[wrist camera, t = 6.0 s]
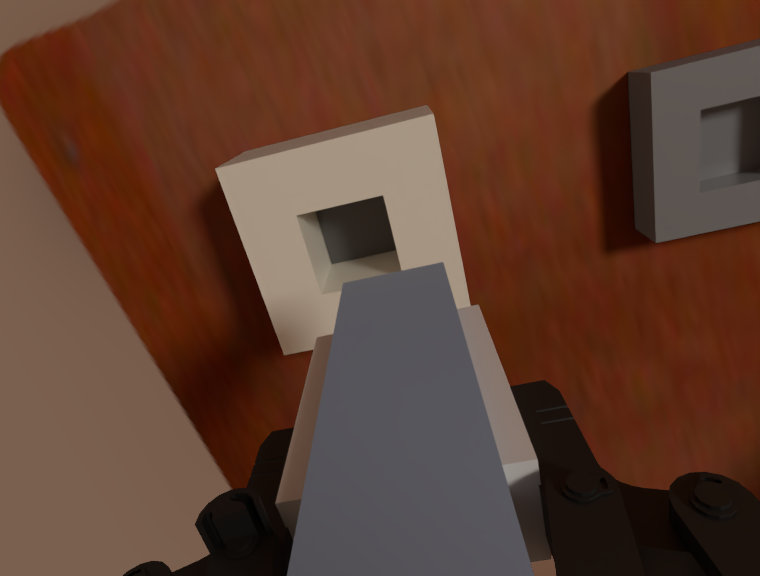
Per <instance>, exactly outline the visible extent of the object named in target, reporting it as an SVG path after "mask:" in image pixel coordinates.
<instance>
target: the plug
mask: <svg viewBox="0 0 760 576" xmlns="http://www.w3.org/2000/svg"><path fill="white" fill-rule="evenodd" d="M287 576H534V573H533V570H532V566H531V563H530V559H529V556H528V552H527V549H526V546H525V542H524V539H523V535H522V532H521V528H520V525H519V521H518V518H517V515H516V511H515V508H514V504H513V501H512V497H511V494H510V490H509V487H508V484H507V480H506V477H505V473H504V470H503V466H502V463H501V459H500V456H499V452H498V449H497V446H496V442H495V439H494V435H493V432H492V428H491V425H490V421H489V418H488V415H487V411H486V408H485V404H484V401H483V397H482V394H481V390H480V387H479V384H478V380H477V377H476V373H475V370H474V366H473V363H472V359H471V356H470V352H469V349H468V346H467V342H466V339H465V335H464V332H463V328H462V325H461V321H460V318H459V315H458V311H457V308H456V304H455V301H454V297H453V294H452V290H451V287H450V284H449V280H448V277H447V273H446V270H445V266H444V263H443V262H440V263H436V264H431V265H426V266H421V267H417V268H412V269H407V270H403V271H398V272H393V273H388V274H384V275H379V276H374V277H370V278H365V279H360V280H355V281H351V282H346V283H343V286H342V291H341V296H340V302H339V307H338V312H337V317H336V322H335V328H334V333H333V338H332V343H331V348H330V354H329V359H328V364H327V369H326V374H325V380H324V385H323V390H322V395H321V401H320V406H319V411H318V416H317V421H316V427H315V432H314V437H313V442H312V447H311V453H310V458H309V463H308V468H307V473H306V479H305V484H304V489H303V494H302V499H301V505H300V510H299V515H298V520H297V526H296V531H295V536H294V541H293V546H292V552H291V557H290V562H289V567H288V572H287Z"/></svg>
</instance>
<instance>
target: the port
mask: <svg viewBox="0 0 760 576" xmlns="http://www.w3.org/2000/svg"><path fill="white" fill-rule="evenodd" d="M215 170H216V173H217V175H218V178H219V181H220V183H221V186H222V189H223V192H224V194H225V197H226V200H227V202H228V205H229V208H230V210H231V213H232V216H233V219H234V221H235V224H236V227H237V229H238V232H239V235H240V237H241V240H242V243H243V246H244V248H245V251H246V254H247V256H248V259H249V262H250V264H251V267H252V270H253V273H254V275H255V278H256V281H257V283H258V286H259V289H260V291H261V294H262V297H263V300H264V302H265V305H266V308H267V310H268V313H269V316H270V318H271V321H272V324H273V326H274V329H275V332H276V335H277V337H278V340H279V343H280V345H281V348H282V351H283V353H284V355H288V354H293V353H298V352H303V351H308V350H313V349H314V346H315V342H316V338H317V337H320V336H325V335H330V334H333V333H334V328H335V322H336V317H337V312H338V307H339V302H340V296H341V291H342V286H343V283H346V282H351V281H355V280H360V279H365V278H370V277H374V276H379V275H384V274H388V273H393V272H398V271H403V270H407V269H412V268H417V267H421V266H426V265H431V264H436V263H440V262H443V263H444V266H445V270H446V273H447V277H448V280H449V284H450V287H451V290H452V294H453V297H454V301H455V304H456V308H457V309H459V308H464V307H469V306H470V301H469V295H468V290H467V285H466V280H465V275H464V269H463V264H462V259H461V254H460V249H459V243H458V238H457V233H456V228H455V223H454V218H453V212H452V207H451V202H450V197H449V192H448V186H447V181H446V176H445V171H444V166H443V160H442V155H441V150H440V145H439V140H438V134H437V129H436V124H435V119H434V114H433V112H432V111H431V110H430V108H429V107H428V105H425V106H421V107H417V108H413V109H410V110H406V111H402V112H398V113H394V114H390V115H386V116H382V117H378V118H374V119H370V120H366V121H362V122H359V123H355V124H351V125H347V126H343V127H339V128H335V129H331V130H327V131H323V132H319V133H315V134H311V135H308V136H304V137H300V138H296V139H292V140H288V141H284V142H280V143H276V144H272V145H268V146H264V147H260V148H257V149H253V150H249V151H245V152H243V153H242V154H240V155H238V156H236V157H235V158H233V159H231V160H230V161H228V162H226V163H224V164H223V165H221V166H219V167H217V168H216V169H215Z"/></svg>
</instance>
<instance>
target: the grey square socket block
mask: <svg viewBox="0 0 760 576" xmlns="http://www.w3.org/2000/svg"><path fill="white" fill-rule="evenodd" d="M628 87H629V108H630V130H631V152H632V173H633V195H634V216H635V229H636V230H638V231H639V232H641V233H642V234H643V235H645V236H646V237H648V238H649V239H651V240H652V241H654V242H655V243H659V242H663V241H668V240H673V239H678V238H683V237H687V236H692V235H697V234H702V233H707V232H711V231H716V230H721V229H726V228H731V227H735V226H740V225H745V224H750V223H754V222H759V221H760V39H757V40H753V41H749V42H745V43H741V44H737V45H733V46H729V47H726V48H722V49H718V50H714V51H710V52H706V53H702V54H698V55H694V56H690V57H686V58H682V59H678V60H674V61H670V62H666V63H662V64H658V65H654V66H650V67H646V68H642V69H638V70H634V71H630V72H628Z"/></svg>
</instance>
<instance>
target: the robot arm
mask: <svg viewBox="0 0 760 576" xmlns="http://www.w3.org/2000/svg"><path fill="white" fill-rule="evenodd" d="M457 311H458V315H459V318H460V321H461V325H462V328H463V332H464V335H465V339H466V342H467V346H468V349H469V352H470V356H471V359H472V363H473V366H474V370H475V373H476V377H477V380H478V384H479V387H480V390H481V394H482V397H483V401H484V404H485V408H486V411H487V415H488V418H489V421H490V425H491V428H492V432H493V435H494V439H495V442H496V446H497V449H498V452H499V456H500V459H501V463H502V466H503V470H504V473H505V477H506V480H507V484H508V487H509V490H510V494H511V497H512V501H513V504H514V508H515V511H516V515H517V518H518V521H519V525H520V528H521V532H522V535H523V539H524V542H525V546H526V549H527V552H528V556H529V559H530V562H534V561H541V560H548V559H551V553H552V556H553V558H554V562H555V568H556V575H557V576H760V501H759V500H758V499H757V498H756V497H755V496H754V495H753V494H752V493H751V492H750V491H748V490H747V489H746V488H745V487H743V486H742V485H741V484H740V483H738V482H736V481H734V480H732V479H729V478H727V477H725V476H723V475H718V474H713V473H708V472H695V473H688V474H685V475H683V476H680V477H678V478H677V479H676V480H675V481H674V482H673V483H672V484H671V485H670V491H669V490H659V489H649V488H641V487H635V486H630V485H628V484H625V483H622V482H619V481H618V480H616V479H614V477H613V476H612V475H610V474H609V473H608V472H607V471H605V470H604V469H602V468H601V467H600V466H599V464H598V463H597V461H596V459H595V457H594V455H593V454H592V452H591V450H590V448H589V446H588V444H587V442H586V440H585V438H584V437H583V435H582V433H581V431H580V429H579V427H578V425H577V423H576V421H575V419H573V416H572V414H571V412H570V410H569V408H567V404H566V402H565V401H564V399H563V397H562V395H561V393H560V391H559V390H558V389H556V388H555V387H553V386H552V385H551V384H549V383H548V382H546V381H545V380H543V381H537V382H532V383H526V384H521V385H516V386H509V383H508V381H507V378H506V375H505V373H504V370H503V368H502V365H501V362H500V360H499V357H498V355H497V352H496V349H495V347H494V344H493V341H492V339H491V336H490V334H489V331H488V328H487V326H486V323H485V321H484V318H483V315H482V313H481V310H480V308H479V305H474V306H469V307H464V308H459V309H457ZM332 338H333V334H330V335H325V336H320V337H317V338H316V342H315V346H314V350H313V354H312V358H311V362H310V366H309V370H308V374H307V378H306V382H305V386H304V390H303V394H302V398H301V402H300V406H299V410H298V414H297V418H296V422H295V426H294V428H289V429H283V430H278V431H272V432H271V433H270V435H269V436H268V437H267V438H266V440H265V441H264V442H263V444H262V445H261V446H260V449H259V452H258V455H257V458H256V461H255V463H256V464H255V465H254V467H253V470H252V473H251V478H250V479H249V482H248V485H247V489H246V488H239V489H233V490H230V491H228V492H226V493H223V494H221V495H219V496H218V497H216V498H215V499H214V500H212V501H211V502H210V503H208V504H207V505H206V507H205V508H204V509H203V510H202V511H201V513H200V514H199V516H198V519H197V521H196V523H195V525H196V527H197V529H198V531H199V533H200V535H201V537H202V539H203V541H204V543H205V545H206V547H207V548H208V550H209V552H210V554H209V555H208V556H206V557H204V558H202V559H201V560H199V561H197V562H194V563H192V564H190V565H188V566H185V567H183V568H181V569H179V570H176V571H174V572H171V570H170V568H169V567H168V566H167V565H166V564H164V563H163V562H159V561H150V562H146V563H143V564H140V565H138V566H136V567H135V568H133V569H131V570H129V571H128V572H126V573H125V574H124V575H123V576H287V572H288V567H289V562H290V557H291V552H292V546H293V541H294V536H295V531H296V526H297V520H298V515H299V510H300V505H301V499H302V494H303V489H304V484H305V479H306V473H307V468H308V463H309V458H310V453H311V447H312V442H313V437H314V432H315V427H316V421H317V416H318V411H319V406H320V401H321V395H322V390H323V385H324V380H325V374H326V369H327V364H328V359H329V354H330V348H331V343H332ZM550 550H551V553H550Z"/></svg>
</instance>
